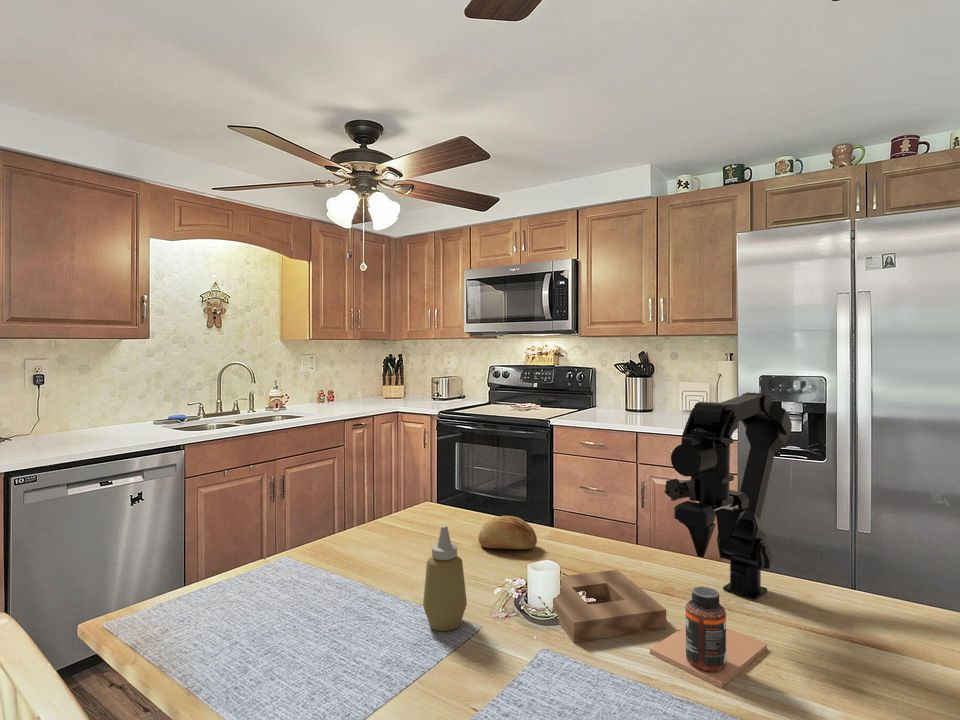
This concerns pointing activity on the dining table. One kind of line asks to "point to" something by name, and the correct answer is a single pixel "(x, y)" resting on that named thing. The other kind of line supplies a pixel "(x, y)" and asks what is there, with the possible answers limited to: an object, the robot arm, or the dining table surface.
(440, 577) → the squeeze bottle
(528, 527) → the bread roll
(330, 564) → the dining table surface
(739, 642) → the terracotta tile
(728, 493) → the robot arm
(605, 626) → the walnut holder
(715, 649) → the supplement bottle
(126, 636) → the dining table surface
